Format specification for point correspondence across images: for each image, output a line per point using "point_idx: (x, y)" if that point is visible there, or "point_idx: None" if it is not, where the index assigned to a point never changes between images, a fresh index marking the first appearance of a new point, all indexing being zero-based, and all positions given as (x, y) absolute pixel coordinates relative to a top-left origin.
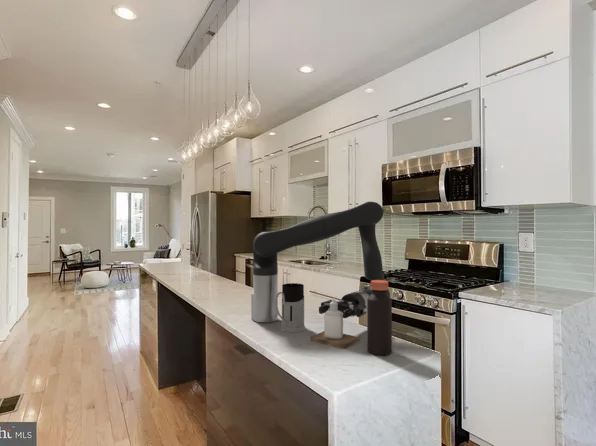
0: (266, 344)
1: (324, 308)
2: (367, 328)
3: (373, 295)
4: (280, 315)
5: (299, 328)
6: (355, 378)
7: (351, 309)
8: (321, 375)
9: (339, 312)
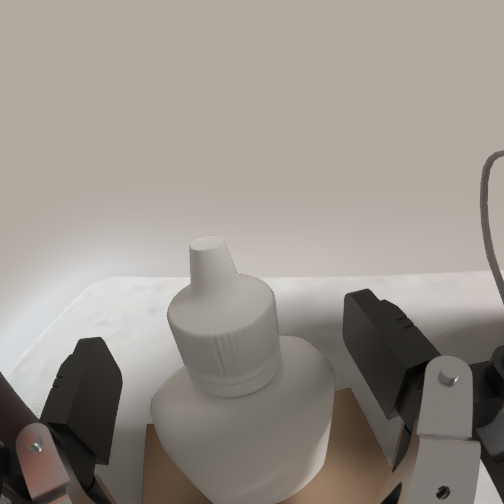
0: (385, 281)
1: (372, 349)
2: (5, 386)
3: None
4: (490, 263)
5: None
6: (75, 313)
7: (43, 429)
8: (138, 287)
9: (164, 384)
